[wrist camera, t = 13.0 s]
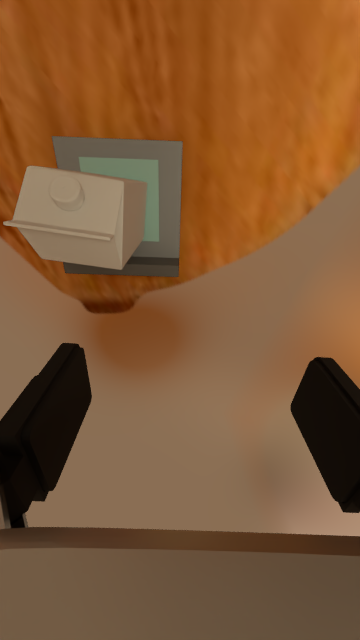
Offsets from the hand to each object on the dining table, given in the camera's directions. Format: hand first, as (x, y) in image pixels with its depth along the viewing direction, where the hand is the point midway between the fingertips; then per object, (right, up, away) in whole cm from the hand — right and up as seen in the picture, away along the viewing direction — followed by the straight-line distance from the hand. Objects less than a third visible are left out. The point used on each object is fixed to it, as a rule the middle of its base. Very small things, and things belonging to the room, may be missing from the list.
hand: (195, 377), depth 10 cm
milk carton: (-9, +18, +23) cm, 30 cm away
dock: (-9, +19, +26) cm, 33 cm away
